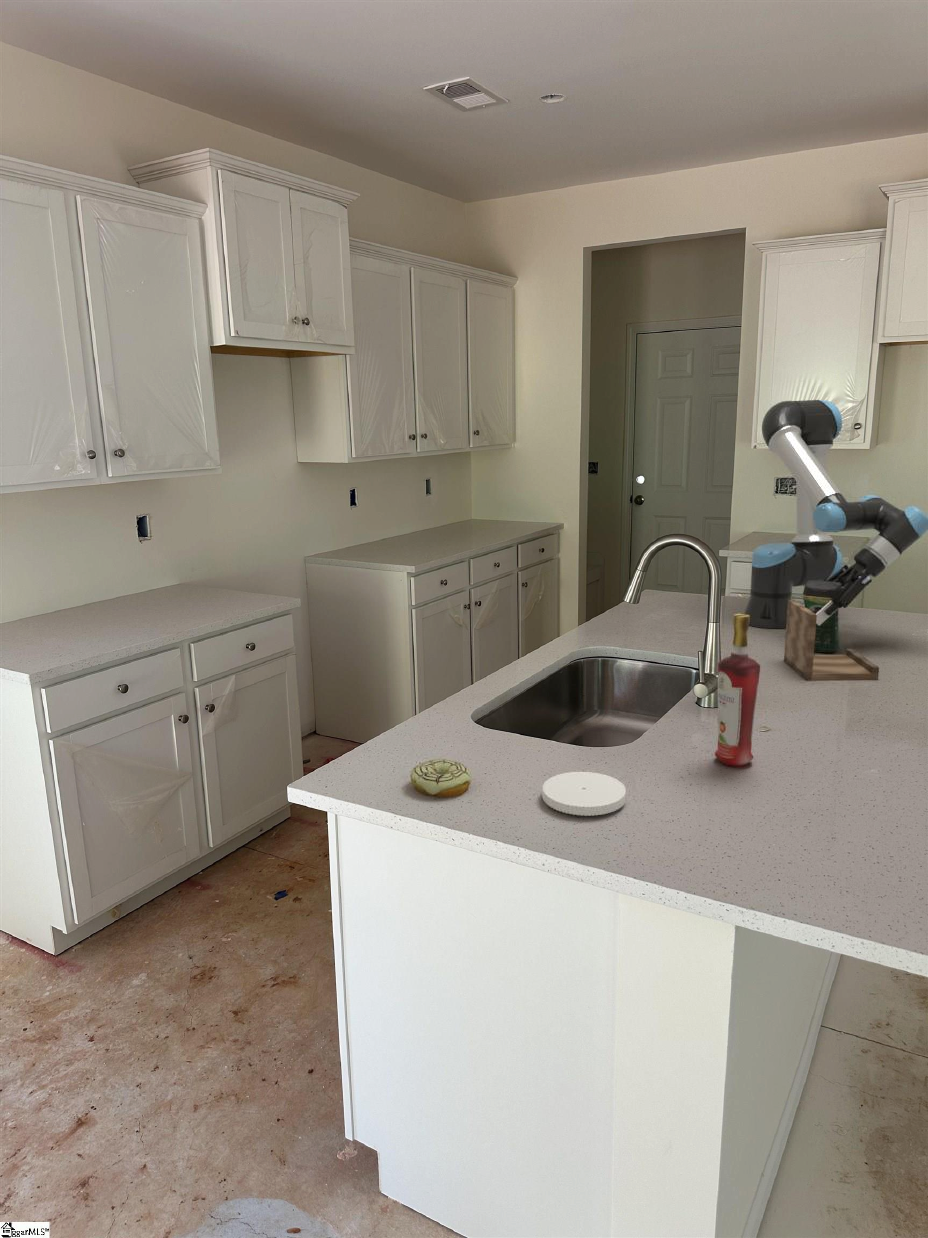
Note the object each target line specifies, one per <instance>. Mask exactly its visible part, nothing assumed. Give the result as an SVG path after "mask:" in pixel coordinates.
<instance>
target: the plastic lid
mask: <svg viewBox="0 0 928 1238" xmlns="http://www.w3.org/2000/svg"><path fill="white" fill-rule="evenodd" d="M541 788H542V789H541V791H542V794H541V797H542V800H543V802H544V803H545V804H546V805H547V806H548V807H550V808H551V809H553V810H556V811H559V812H562V813H563V814H564V813H565V814H569V815H573V816H575V815H576V816H585V817H587V816H589V817H590V816H592V817H593V816H598V815H600V816H601V815H605V814H609V813H612V812H615V811H617V810H619V809H621V808H622V807H624V805H625V804H626V801H627V788H626V786H625V785H624V783H622V782H621V781H620V780H618V779H616V778H615V777H613V776H610V775H607V774H603V773H601V772H600V773H599V772H591V771H570V772H569V771H568V772H563V773H559V774H556V775H554V776H551V777H550V778H548V779H546V780H545V781H544V783H543V785H542V787H541Z"/></svg>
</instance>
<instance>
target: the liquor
mask: <svg viewBox="0 0 928 1238" xmlns="http://www.w3.org/2000/svg"><path fill="white" fill-rule="evenodd" d="M749 617H750V616H749V615H747V614H743V613H735V614H733V631H734V632H733V639H732V645H731V652H730V655H729V656H726V657H724V658H723V659H721V660H720V661H718V662H717V710H718V711H717V749H716V750H715V752H714V756H715V757H716V759H718V760H719V761H720V762H721V763H722V764H723V765H725V766H727V767H731V768H739V767H744V766H746V765H748V763H750V762H751V761H753V759H754V755H753V753H752V746H753V737H754V736H753V734H754V724H755V717H756V708H757V707H756V706H757V699H758V693H759V684H760V683H759V680H760V674H761V673H760V672H761V665H760V664H759V663H758V662H757V661H756V660H755V659H753V658H751V657H749V652H748V651H749V649H748V647H749V646H748V643H749V642H748V630H749V626H750V625H749Z"/></svg>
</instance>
